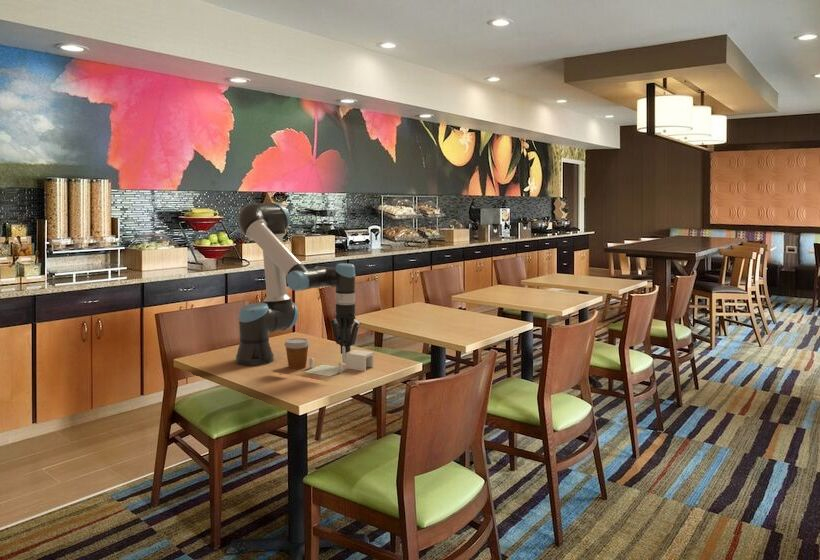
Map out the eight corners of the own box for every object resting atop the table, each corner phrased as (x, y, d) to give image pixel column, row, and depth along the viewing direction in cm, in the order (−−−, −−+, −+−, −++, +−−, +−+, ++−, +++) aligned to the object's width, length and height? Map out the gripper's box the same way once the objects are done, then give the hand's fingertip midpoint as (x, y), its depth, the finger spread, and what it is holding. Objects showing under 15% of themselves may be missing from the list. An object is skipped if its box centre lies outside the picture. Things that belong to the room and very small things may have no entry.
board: (300, 375, 240) (300, 361, 240) (329, 363, 257) (329, 351, 256) (347, 382, 231) (347, 369, 230) (373, 370, 248) (373, 357, 247)
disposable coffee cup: (304, 374, 241) (304, 344, 239) (281, 373, 243) (280, 342, 241) (313, 368, 250) (312, 338, 249) (290, 366, 252) (290, 337, 251)
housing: (345, 368, 245) (345, 353, 245) (354, 364, 251) (354, 349, 250) (364, 371, 241) (364, 355, 241) (373, 367, 247) (373, 352, 246)
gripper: (326, 303, 245) (326, 362, 249) (354, 306, 240) (354, 366, 243) (337, 300, 252) (337, 358, 255) (364, 303, 246) (364, 362, 249)
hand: (345, 362), depth 249 cm, fingers closed
